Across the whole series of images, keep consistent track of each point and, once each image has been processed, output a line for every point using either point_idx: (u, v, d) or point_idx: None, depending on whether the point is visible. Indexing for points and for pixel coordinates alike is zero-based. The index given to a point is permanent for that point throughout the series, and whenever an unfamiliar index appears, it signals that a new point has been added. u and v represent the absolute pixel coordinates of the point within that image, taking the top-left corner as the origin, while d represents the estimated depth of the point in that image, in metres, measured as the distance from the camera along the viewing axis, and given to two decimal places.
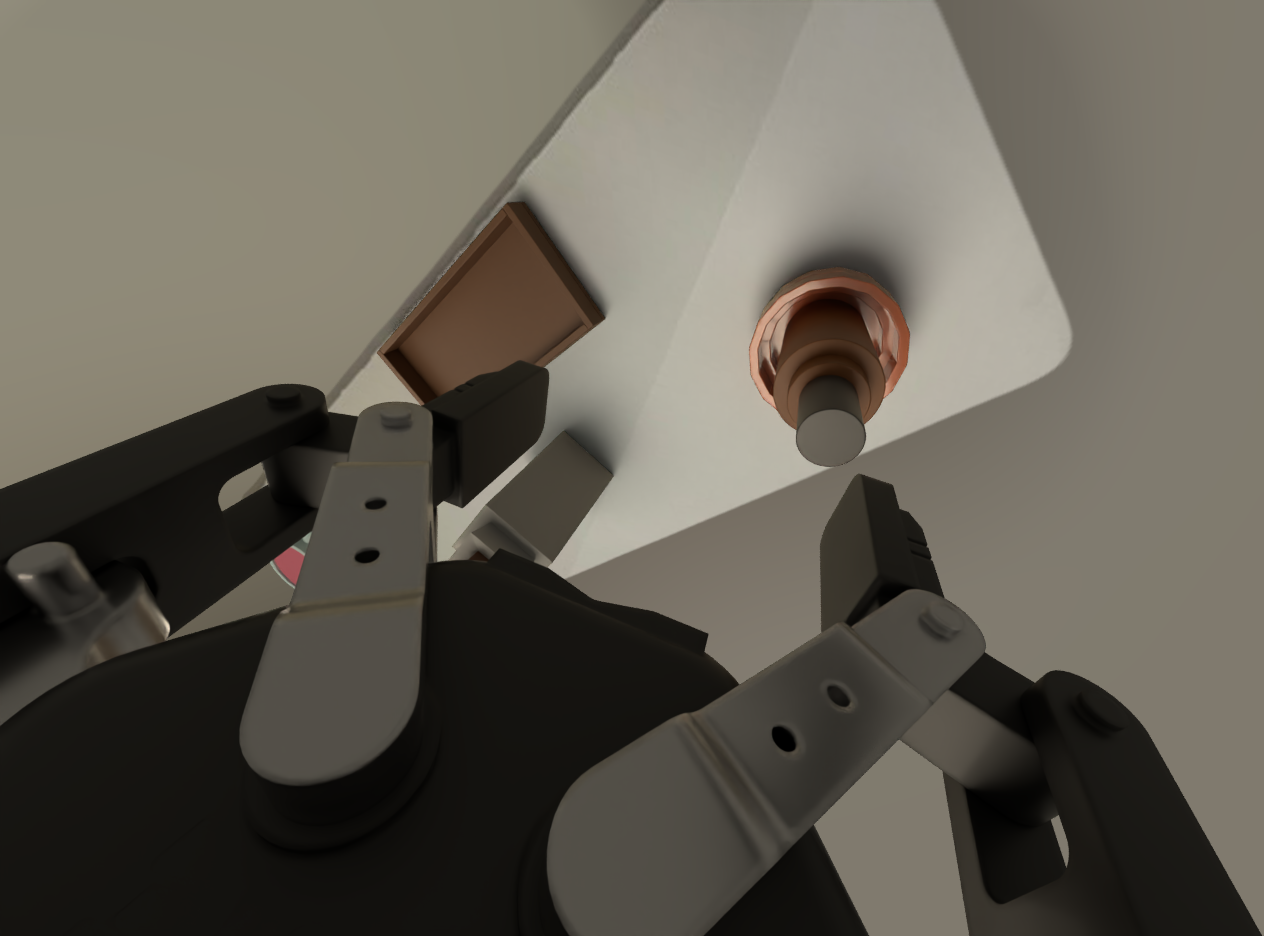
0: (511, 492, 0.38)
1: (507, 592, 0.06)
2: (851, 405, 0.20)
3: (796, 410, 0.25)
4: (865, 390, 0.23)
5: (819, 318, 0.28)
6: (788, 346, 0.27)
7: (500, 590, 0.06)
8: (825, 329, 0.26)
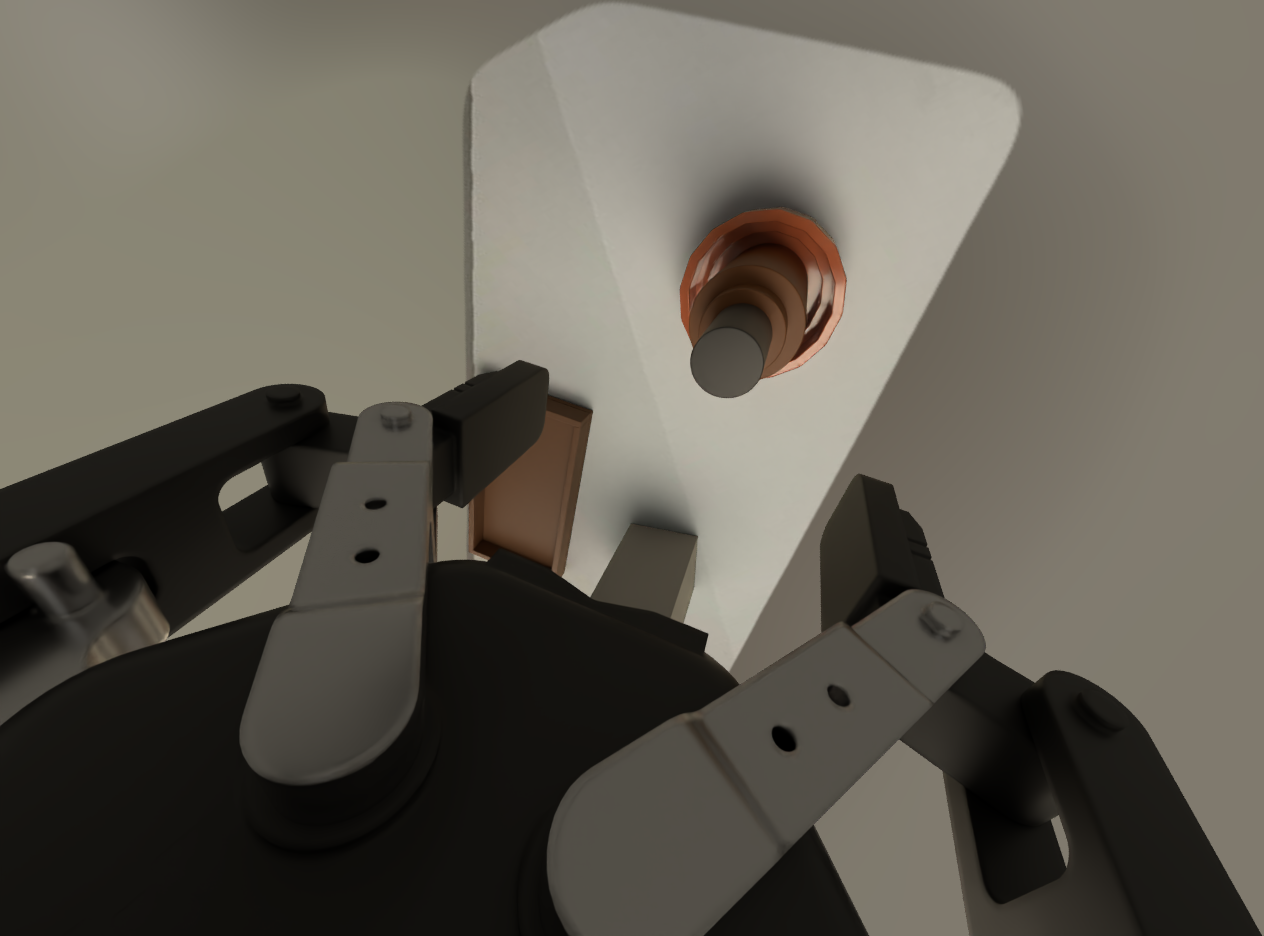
0: None
1: (507, 592, 0.06)
2: (726, 321, 0.18)
3: None
4: (762, 298, 0.20)
5: None
6: None
7: (500, 590, 0.06)
8: None
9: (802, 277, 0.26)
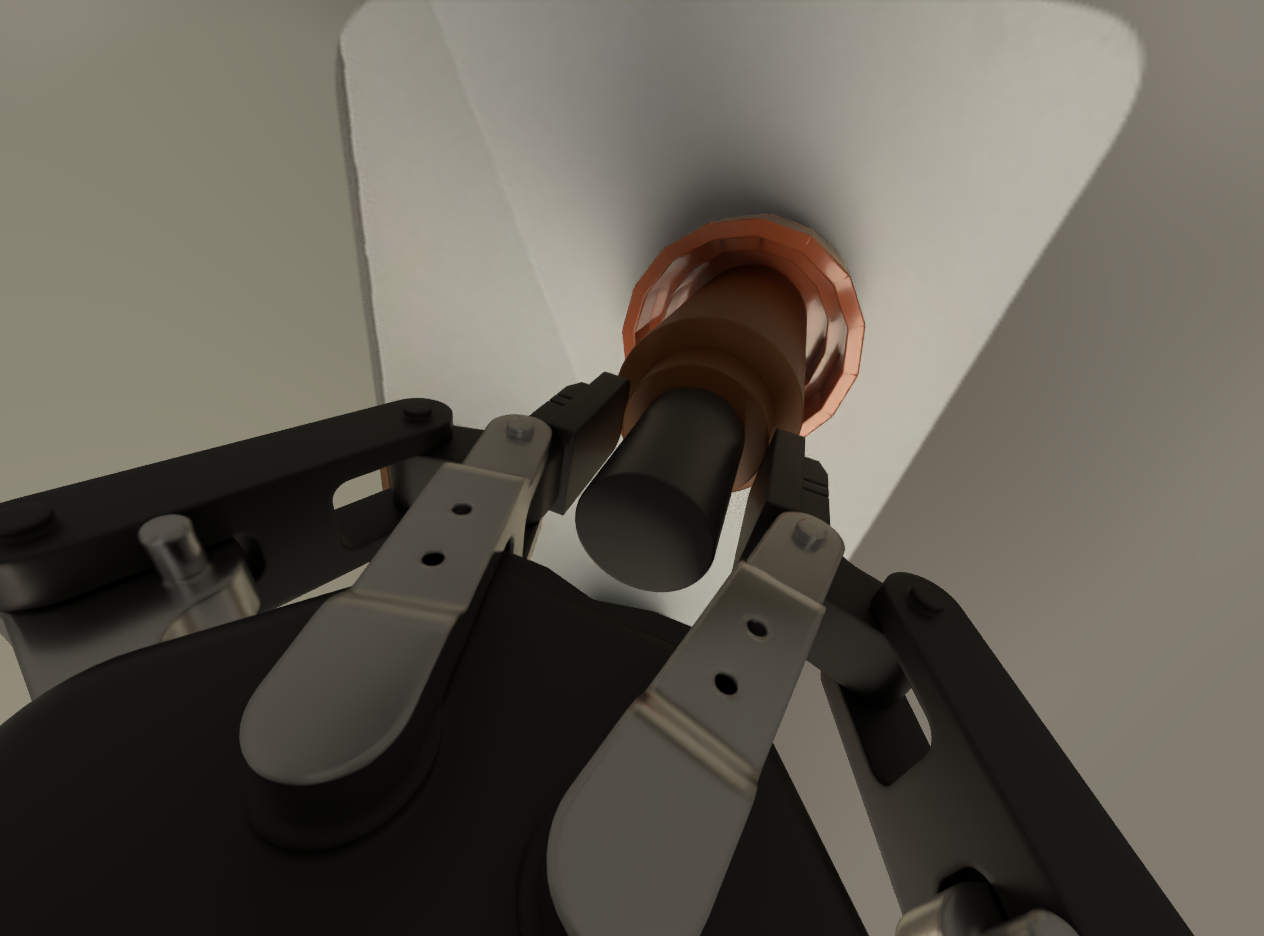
0: None
1: (507, 592, 0.06)
2: (643, 447, 0.09)
3: None
4: (725, 381, 0.11)
5: None
6: None
7: (500, 590, 0.06)
8: None
9: (798, 322, 0.17)
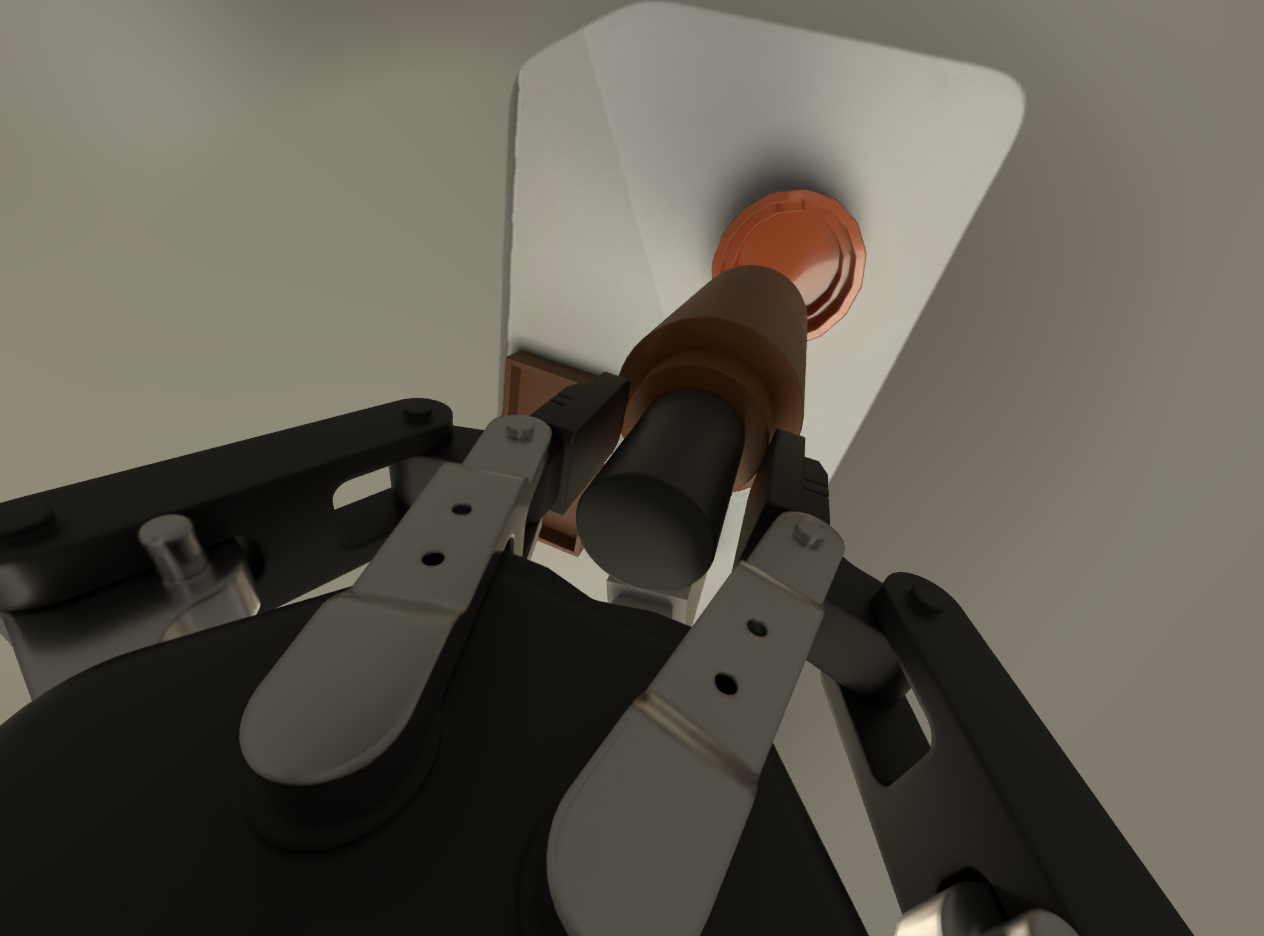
0: None
1: (507, 592, 0.06)
2: (644, 446, 0.09)
3: None
4: (725, 381, 0.12)
5: None
6: None
7: (500, 590, 0.06)
8: None
9: (798, 322, 0.17)
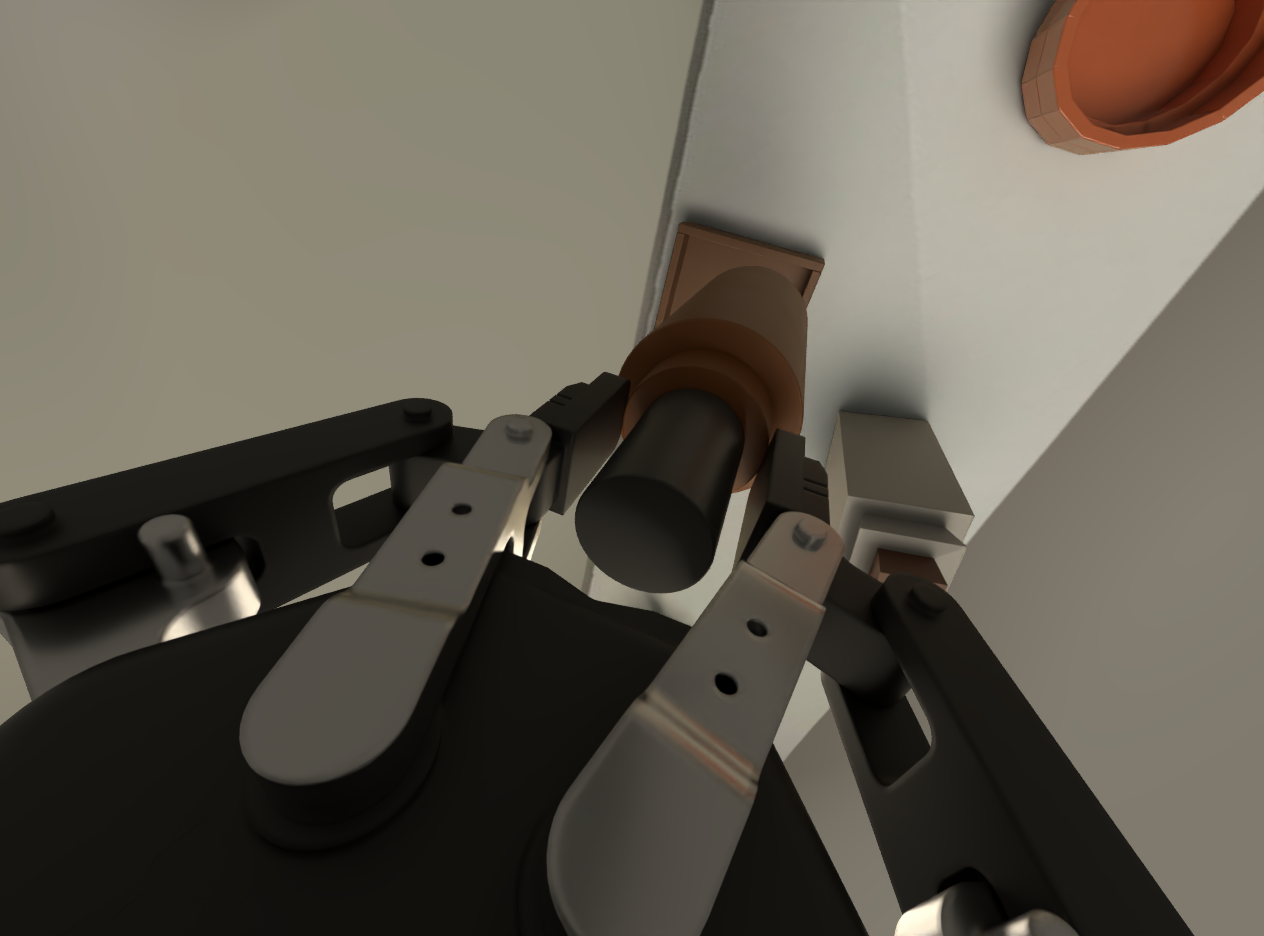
0: (857, 475, 0.31)
1: (507, 592, 0.06)
2: (643, 448, 0.09)
3: None
4: (725, 382, 0.11)
5: None
6: None
7: (500, 590, 0.06)
8: None
9: (798, 323, 0.17)
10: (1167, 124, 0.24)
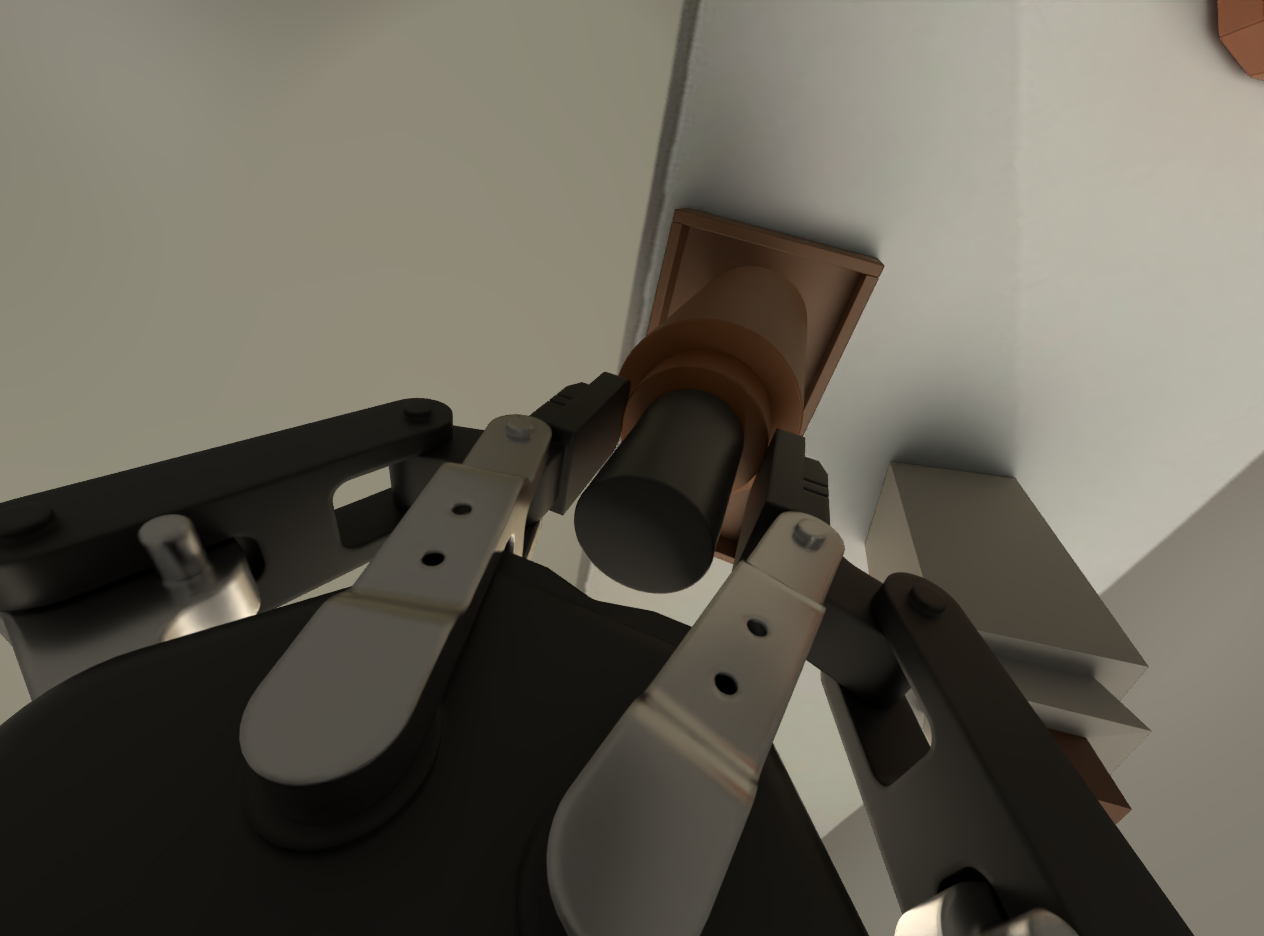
0: (940, 579, 0.21)
1: (507, 592, 0.06)
2: (642, 449, 0.09)
3: None
4: (724, 383, 0.12)
5: None
6: None
7: (500, 590, 0.06)
8: None
9: (798, 324, 0.17)
10: None
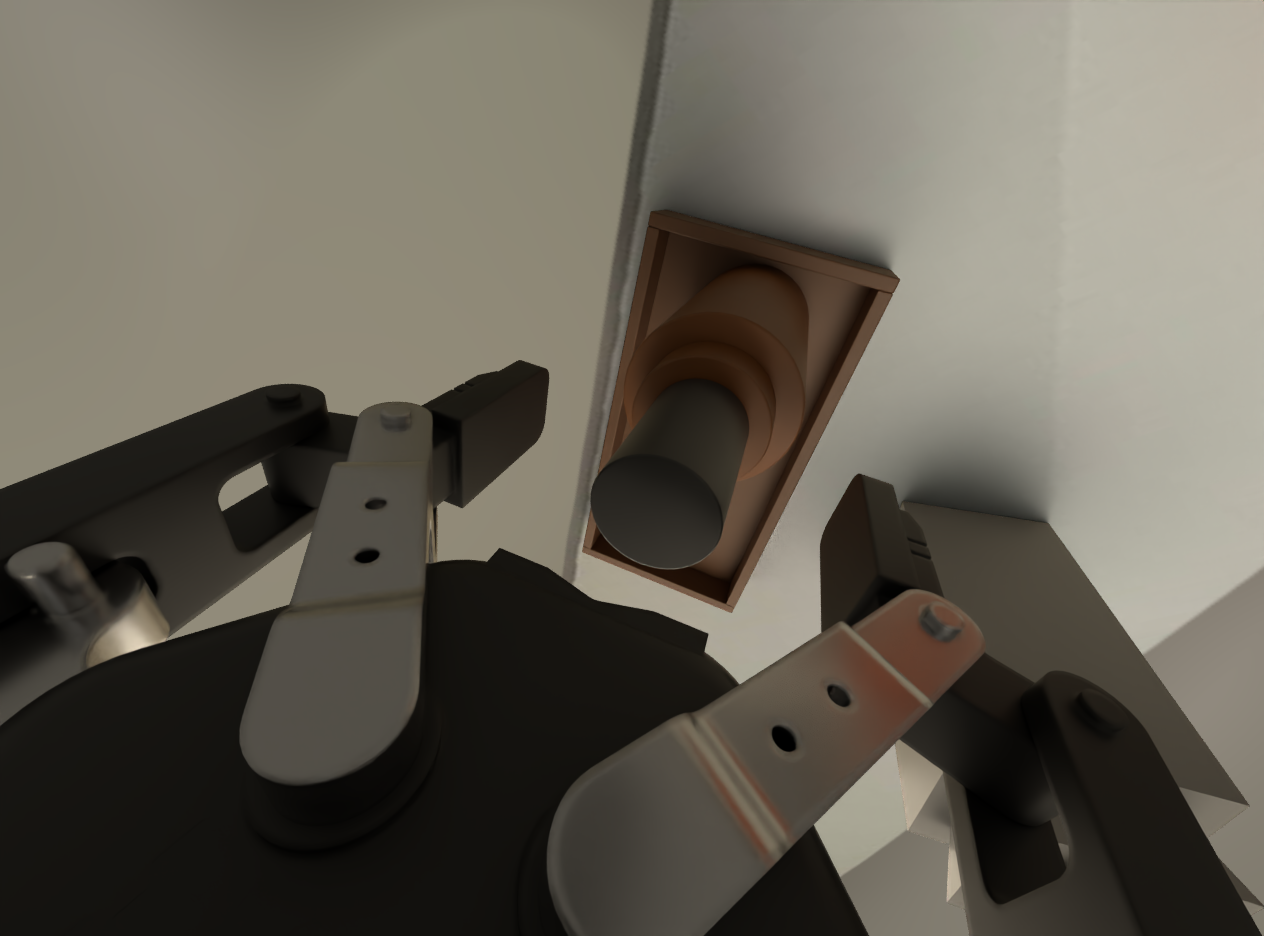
0: None
1: (507, 592, 0.06)
2: (655, 432, 0.10)
3: None
4: (730, 372, 0.12)
5: None
6: None
7: (500, 590, 0.06)
8: None
9: (800, 319, 0.17)
10: None
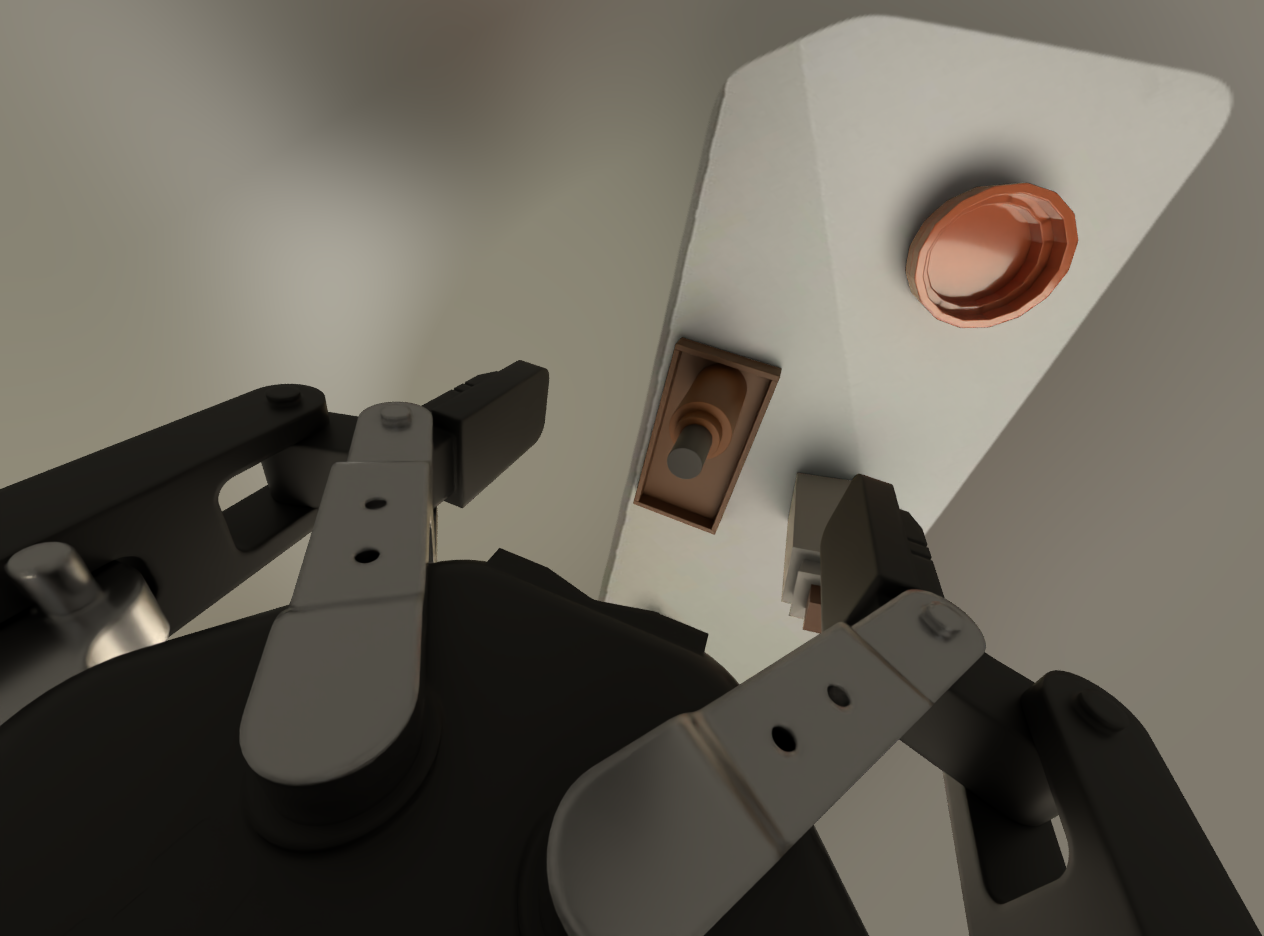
0: (801, 530, 0.43)
1: (507, 592, 0.06)
2: (684, 441, 0.36)
3: None
4: (706, 422, 0.39)
5: (687, 392, 0.45)
6: None
7: (500, 590, 0.06)
8: (681, 401, 0.42)
9: (736, 395, 0.44)
10: (993, 309, 0.37)
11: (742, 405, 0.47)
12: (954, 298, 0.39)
